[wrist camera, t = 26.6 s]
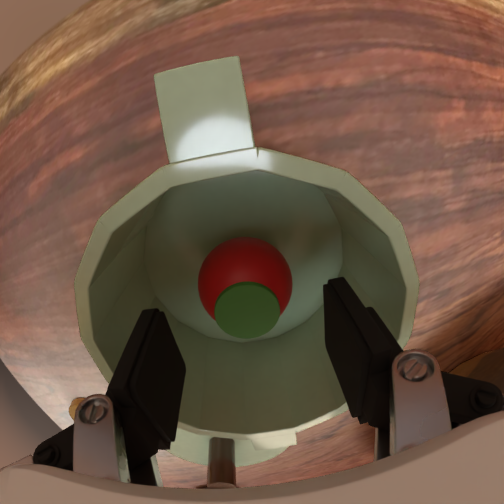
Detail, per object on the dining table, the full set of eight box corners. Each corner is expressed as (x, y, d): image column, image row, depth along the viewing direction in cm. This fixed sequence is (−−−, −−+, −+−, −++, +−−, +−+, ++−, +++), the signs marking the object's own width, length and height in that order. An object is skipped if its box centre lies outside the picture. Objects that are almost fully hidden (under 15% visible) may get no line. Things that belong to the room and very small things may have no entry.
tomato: (193, 286, 16) (180, 339, 11) (217, 213, 14) (209, 246, 10) (266, 307, 16) (276, 363, 12) (297, 240, 15) (321, 282, 11)
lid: (180, 460, 25) (176, 503, 19) (129, 394, 20) (111, 451, 14) (295, 451, 25) (303, 497, 19) (286, 380, 20) (299, 447, 14)
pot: (184, 378, 19) (172, 463, 12) (104, 129, 13) (12, 131, 6) (347, 351, 19) (383, 432, 12) (331, 85, 12) (408, 48, 5)
